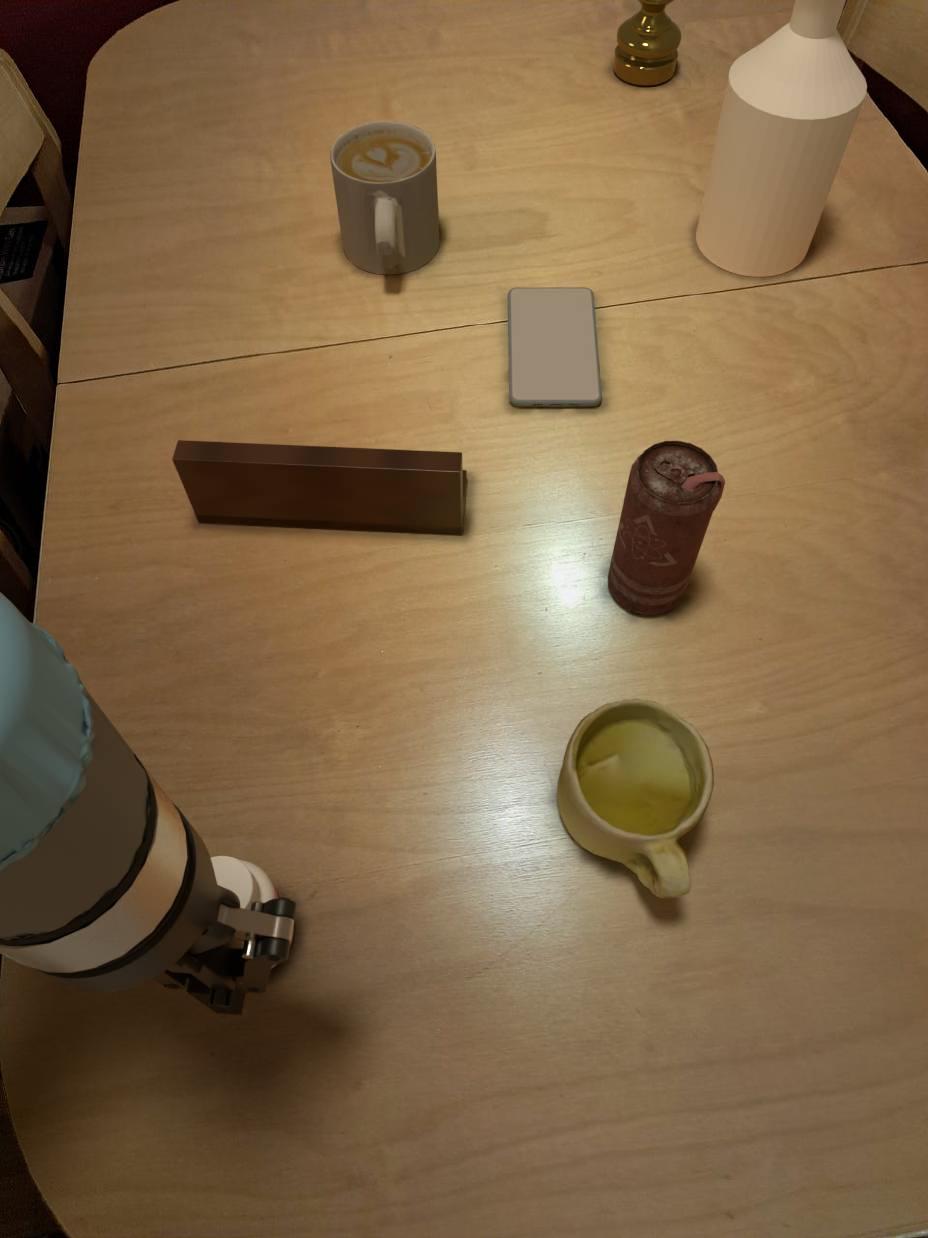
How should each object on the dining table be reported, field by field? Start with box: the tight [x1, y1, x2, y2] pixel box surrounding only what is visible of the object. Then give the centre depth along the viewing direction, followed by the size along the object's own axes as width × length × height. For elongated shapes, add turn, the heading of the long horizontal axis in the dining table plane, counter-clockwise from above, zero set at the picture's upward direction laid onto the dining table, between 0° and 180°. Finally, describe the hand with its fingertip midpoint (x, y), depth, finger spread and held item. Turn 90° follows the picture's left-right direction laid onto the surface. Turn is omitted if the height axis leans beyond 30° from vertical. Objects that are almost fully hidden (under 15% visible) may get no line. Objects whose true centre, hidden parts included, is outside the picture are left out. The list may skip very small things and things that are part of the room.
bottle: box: [695, 0, 868, 278], centre depth 85 cm, size 12×12×25 cm
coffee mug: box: [329, 120, 441, 276], centre depth 91 cm, size 13×10×10 cm
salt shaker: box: [613, 0, 682, 87], centre depth 108 cm, size 7×7×10 cm
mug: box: [556, 698, 715, 899], centre depth 61 cm, size 12×10×10 cm
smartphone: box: [507, 286, 603, 407], centre depth 88 cm, size 8×1×15 cm
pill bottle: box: [210, 855, 295, 969], centre depth 57 cm, size 5×5×10 cm
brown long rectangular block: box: [171, 439, 468, 536], centre depth 76 cm, size 22×6×8 cm, turn 86°
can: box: [607, 440, 726, 615], centre depth 68 cm, size 6×6×14 cm
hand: (233, 989), depth 55 cm, fingers closed
